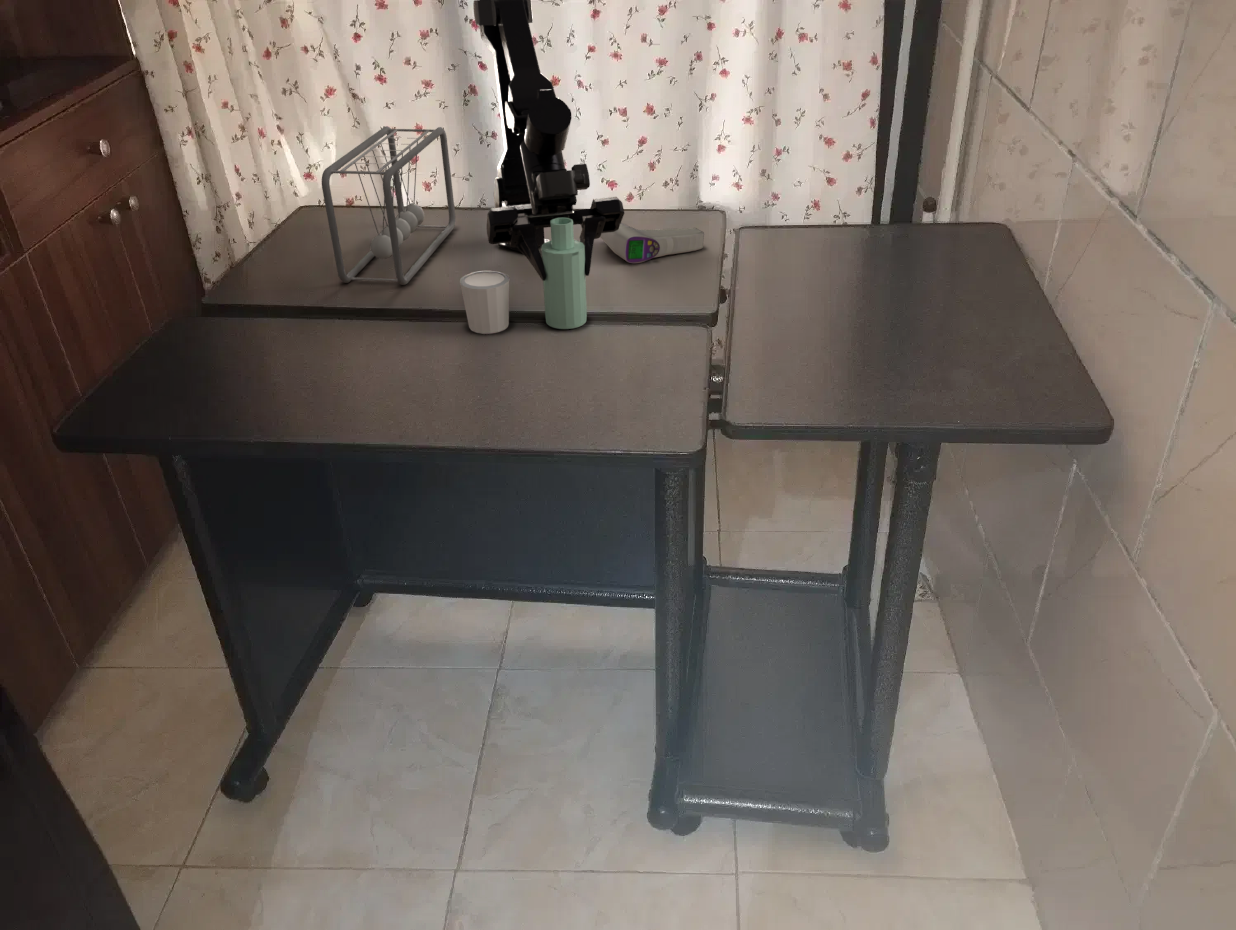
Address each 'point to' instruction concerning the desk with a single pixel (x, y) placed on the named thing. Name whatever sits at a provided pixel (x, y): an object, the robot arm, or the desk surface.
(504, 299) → the shot glass
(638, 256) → the infrared thermometer
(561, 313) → the water bottle
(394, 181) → the newton's cradle
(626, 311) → the desk surface
